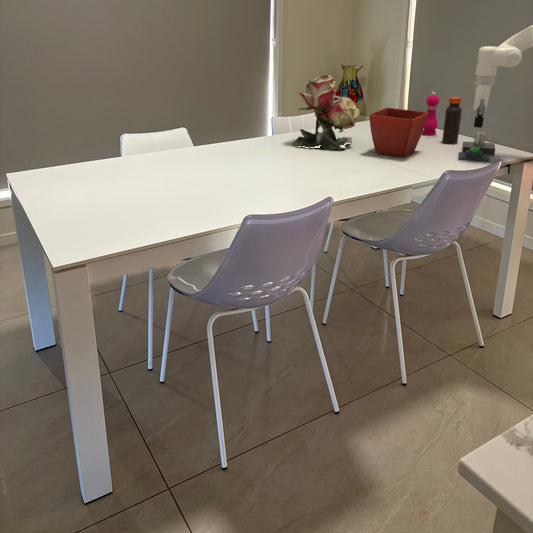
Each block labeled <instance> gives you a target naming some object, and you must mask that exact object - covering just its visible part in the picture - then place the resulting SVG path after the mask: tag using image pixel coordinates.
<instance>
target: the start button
mask: <svg viewBox="0 0 533 533" xmlns="http://www.w3.org/2000/svg"><path fill="white" fill-rule="evenodd" d="M470 152H473V153H479V148H478V147H471V148H470Z"/></svg>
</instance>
